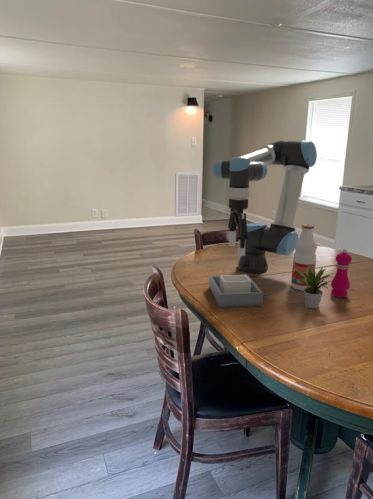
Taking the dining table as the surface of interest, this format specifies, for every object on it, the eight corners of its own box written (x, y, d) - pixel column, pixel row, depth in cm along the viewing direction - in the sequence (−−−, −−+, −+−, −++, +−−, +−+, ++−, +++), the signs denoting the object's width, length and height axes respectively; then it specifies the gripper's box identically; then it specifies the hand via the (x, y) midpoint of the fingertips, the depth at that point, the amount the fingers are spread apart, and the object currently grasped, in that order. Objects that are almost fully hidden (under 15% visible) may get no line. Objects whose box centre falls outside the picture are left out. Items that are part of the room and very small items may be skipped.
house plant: (326, 318, 135) (331, 275, 131) (288, 309, 142) (292, 268, 138) (334, 305, 147) (339, 265, 143) (299, 297, 154) (303, 259, 150)
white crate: (244, 290, 158) (245, 274, 156) (250, 297, 151) (251, 281, 149) (219, 291, 157) (219, 275, 155) (223, 298, 149) (224, 282, 147)
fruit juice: (315, 291, 161) (323, 227, 153) (294, 291, 161) (300, 227, 153) (309, 283, 170) (315, 223, 162) (288, 283, 170) (293, 222, 162)
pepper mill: (340, 299, 152) (346, 252, 147) (326, 293, 159) (331, 247, 153) (352, 296, 156) (358, 250, 150) (338, 290, 162) (343, 246, 157)
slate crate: (247, 286, 165) (247, 274, 164) (262, 306, 145) (263, 292, 144) (209, 288, 163) (209, 276, 162) (219, 308, 143) (219, 294, 142)
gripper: (221, 194, 157) (220, 243, 163) (237, 203, 133) (235, 260, 139) (239, 193, 158) (237, 242, 164) (258, 203, 134) (255, 259, 140)
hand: (236, 250), depth 151 cm, fingers open, 13 cm apart
